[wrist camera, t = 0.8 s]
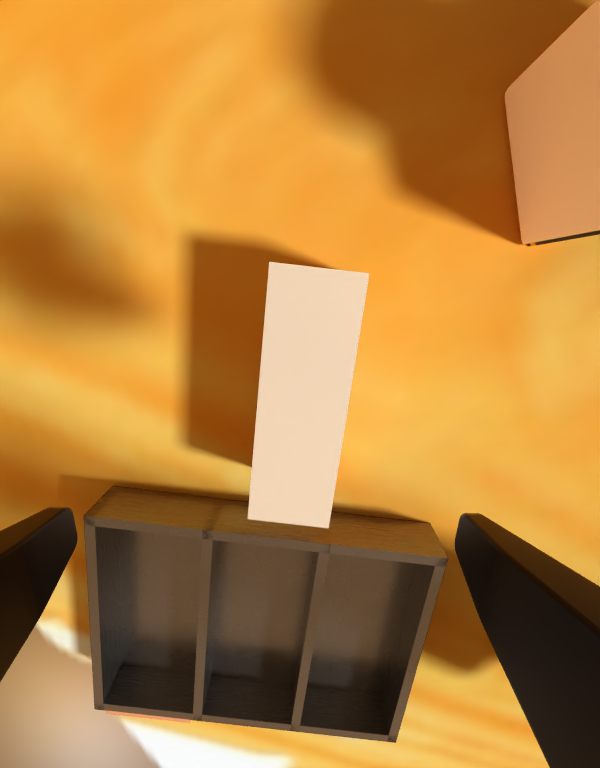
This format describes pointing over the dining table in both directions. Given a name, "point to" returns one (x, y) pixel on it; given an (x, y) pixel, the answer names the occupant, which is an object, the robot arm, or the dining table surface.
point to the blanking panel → (304, 391)
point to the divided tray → (256, 614)
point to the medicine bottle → (558, 136)
